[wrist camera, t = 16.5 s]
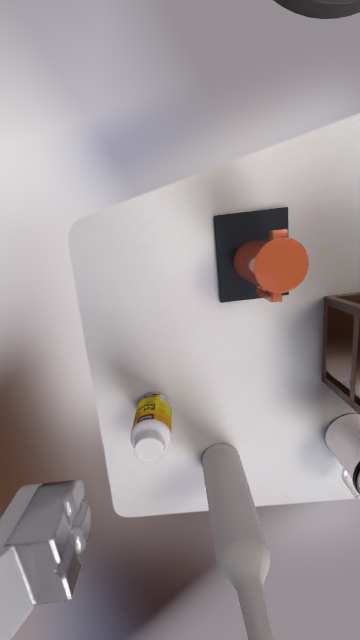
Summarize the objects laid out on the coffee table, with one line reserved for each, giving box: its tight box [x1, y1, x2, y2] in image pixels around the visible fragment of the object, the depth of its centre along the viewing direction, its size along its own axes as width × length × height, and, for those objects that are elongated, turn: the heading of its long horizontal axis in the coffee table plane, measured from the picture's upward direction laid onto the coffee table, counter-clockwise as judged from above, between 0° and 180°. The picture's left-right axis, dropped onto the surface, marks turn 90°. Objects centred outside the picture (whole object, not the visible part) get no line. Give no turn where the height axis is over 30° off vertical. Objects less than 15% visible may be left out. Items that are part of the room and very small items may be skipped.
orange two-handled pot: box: [234, 229, 308, 302], centre depth 34 cm, size 8×6×10 cm
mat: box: [214, 207, 289, 302], centre depth 38 cm, size 12×10×1 cm
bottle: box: [202, 444, 275, 640], centre depth 34 cm, size 7×7×28 cm
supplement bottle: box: [131, 392, 172, 464], centre depth 40 cm, size 6×6×10 cm
